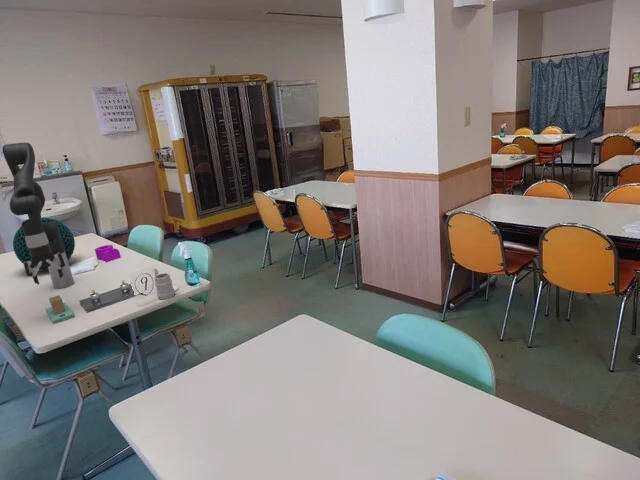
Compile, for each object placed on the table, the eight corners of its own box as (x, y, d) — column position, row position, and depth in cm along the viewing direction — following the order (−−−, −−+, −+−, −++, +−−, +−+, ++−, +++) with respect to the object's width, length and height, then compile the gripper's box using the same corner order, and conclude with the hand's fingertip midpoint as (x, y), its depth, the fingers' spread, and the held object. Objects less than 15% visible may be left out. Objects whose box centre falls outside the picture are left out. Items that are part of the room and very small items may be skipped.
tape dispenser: (95, 258, 270) (92, 248, 268) (111, 253, 277) (108, 244, 275) (105, 263, 259) (102, 252, 257) (122, 257, 266) (119, 247, 264)
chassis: (80, 303, 203) (76, 290, 201) (133, 286, 217) (130, 273, 215) (87, 312, 192) (83, 298, 190) (143, 293, 206) (139, 280, 204)
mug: (162, 301, 195) (156, 275, 191) (151, 295, 203) (145, 270, 200) (178, 295, 200) (172, 270, 196) (167, 289, 208) (161, 265, 205)
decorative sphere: (83, 255, 278) (70, 208, 270) (77, 270, 251) (61, 218, 242) (29, 266, 269) (13, 218, 260) (16, 282, 242) (-2, 229, 233)
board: (46, 311, 198) (41, 296, 196) (66, 305, 203) (61, 290, 201) (53, 324, 185) (48, 307, 183) (74, 316, 189) (69, 300, 187)
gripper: (55, 238, 191) (66, 273, 196) (16, 247, 183) (29, 284, 188) (59, 240, 186) (69, 277, 191) (19, 250, 177) (31, 288, 182)
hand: (49, 280), depth 189 cm, fingers open, 8 cm apart
